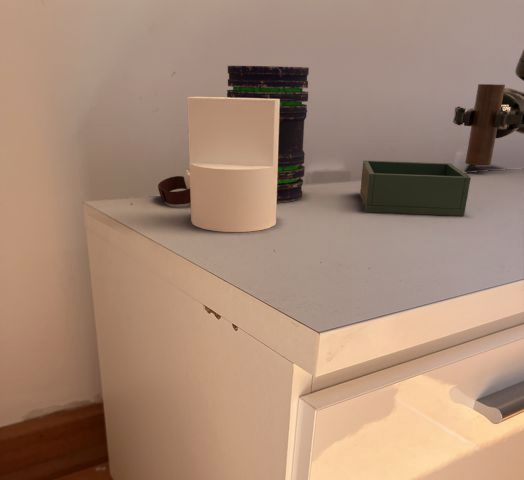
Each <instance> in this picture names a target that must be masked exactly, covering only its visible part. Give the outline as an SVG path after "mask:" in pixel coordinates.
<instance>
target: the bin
mask: <svg viewBox="0 0 524 480" xmlns="http://www.w3.org/2000/svg"><path fill="white" fill-rule="evenodd" d="M361 169H362V170H361V180H360V190H359V194H360V197H361V200H362V204H363V207H364V210H365V212H366V213H381V214H405V215H429V216H451V217H452V216H455V217H465V212H466V207H467V203H468V195H469V189H470V185H471V180H472V179H471V178H472V177H470V176H469V175H468V174H467V173H465V172H464V171H462V170H461V169H459V168H458V167H456V166H455V165H453V164H452V163H447V162H446V163H445V162H421V161H419V162H418V161H390V160H365V159H364V160H362V168H361Z"/></svg>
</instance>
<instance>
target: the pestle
mask: <svg viewBox="0 0 524 480" xmlns="http://www.w3.org/2000/svg"><path fill="white" fill-rule="evenodd" d="M504 88H506V85H505V84H494V83H478V84H477V90H476V96H475V102H474V106H475V107H474V106H473V108H474V113H473V119H472V125H471V126H470V132H469V138H468V144H467V151H466V156H465V164H466V165H469V166H490V165H492V160H493V154H494V149H495V144H496V143H495V142H496V139H497V138H496V132H497V128H496V127H494V124H495V118H496V114H497V112H500V110H501V105H502V99H503V94H504Z"/></svg>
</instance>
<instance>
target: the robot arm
mask: <svg viewBox="0 0 524 480" xmlns="http://www.w3.org/2000/svg"><path fill="white" fill-rule="evenodd" d="M514 73H515V75H516V77H517V78H518V79H520V80H521V81H523V82H524V48H523V49H522V52H521V54H520V57H519V59H518V61H517V64H516V66H515V72H514ZM474 107H475V105H474V106H473V108H471V107H470V108H468V109H466V107H462V106H457V107H456V106H455V107H454V113H453V120H452V123H453V124H455V125H457V126H461V125H463V126H464V127H471V125H472V119H473V113H474ZM494 127H496V128H497V132H496V138H495V139H501V138H504V137H506V136H509V135H511V134H513V133H515V132H516V133H519V134H522V135H524V92H523V91H520V90H517V89H513V88H510V87H505V88H504V94H503V99H502V105H501V110H500V112H497V114H496V118H495V124H494Z"/></svg>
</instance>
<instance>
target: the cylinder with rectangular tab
mask: <svg viewBox="0 0 524 480" xmlns="http://www.w3.org/2000/svg"><path fill="white" fill-rule="evenodd" d="M186 101H187V102H186V105H187V107H186V108H187V133H188V134H187V135H188V163H189V172H190V196H191V203H190V220H191V221H190V222H191V224H192V225H193V226H194V227H197V228H199V229H203V230H206V231H207V230H208V231H213V232H221V233H223V232H224V233H248V232H258V231H262V230H267V229H270V228H272V227H274V226H275V225H277V172H278V140H279V108H280V99H261V98H227V96H226V97H223V96H221V97H220V96H188V97H187V98H186Z"/></svg>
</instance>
